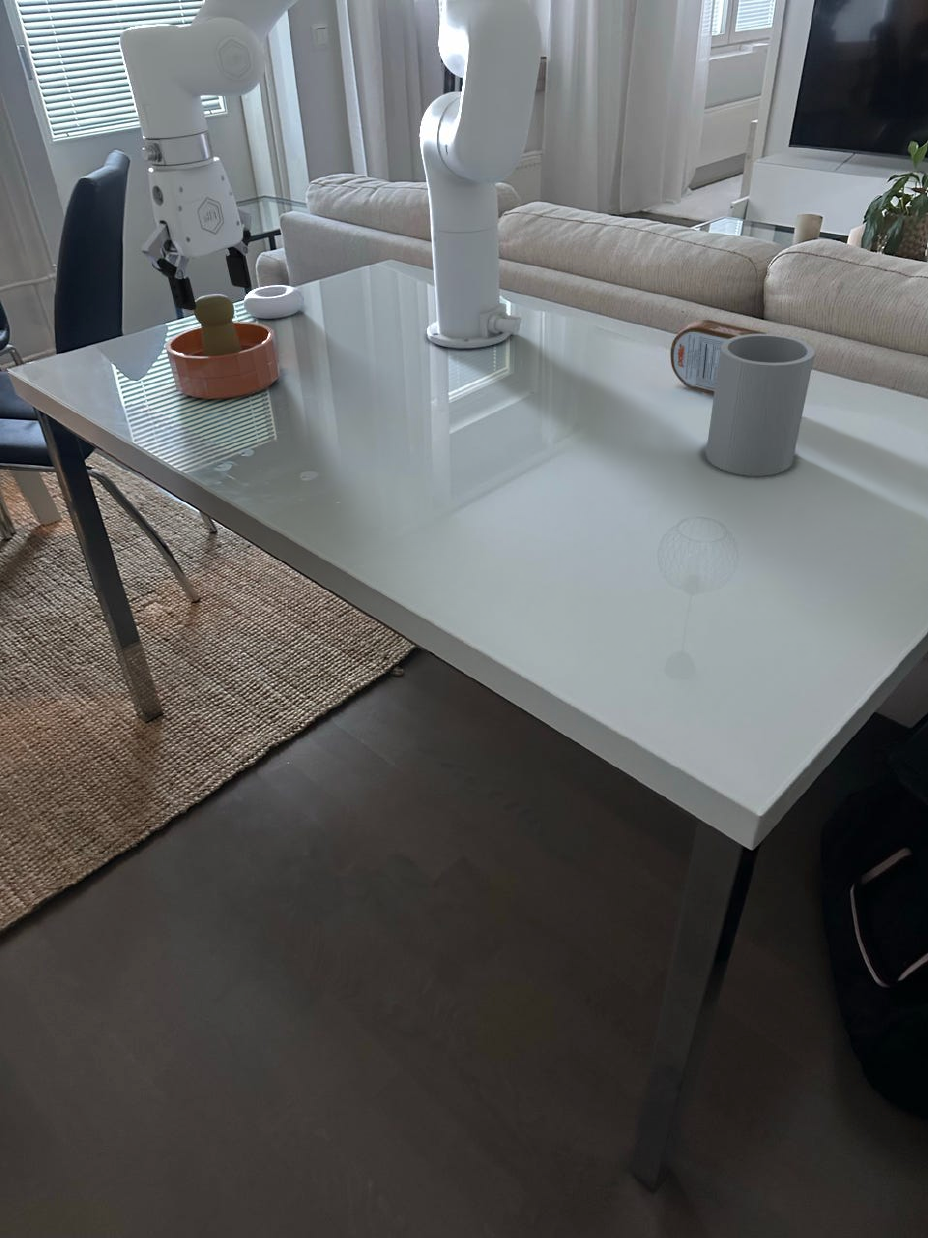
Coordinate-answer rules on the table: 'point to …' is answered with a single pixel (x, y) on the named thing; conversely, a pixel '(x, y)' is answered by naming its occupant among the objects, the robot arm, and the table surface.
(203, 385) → the basin
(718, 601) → the table surface
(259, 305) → the donut
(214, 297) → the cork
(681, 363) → the tin
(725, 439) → the cup
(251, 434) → the table surface
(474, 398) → the table surface
